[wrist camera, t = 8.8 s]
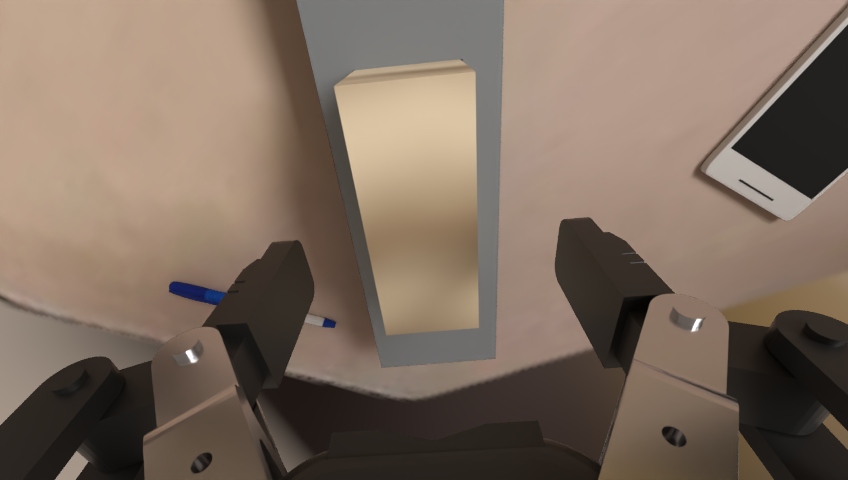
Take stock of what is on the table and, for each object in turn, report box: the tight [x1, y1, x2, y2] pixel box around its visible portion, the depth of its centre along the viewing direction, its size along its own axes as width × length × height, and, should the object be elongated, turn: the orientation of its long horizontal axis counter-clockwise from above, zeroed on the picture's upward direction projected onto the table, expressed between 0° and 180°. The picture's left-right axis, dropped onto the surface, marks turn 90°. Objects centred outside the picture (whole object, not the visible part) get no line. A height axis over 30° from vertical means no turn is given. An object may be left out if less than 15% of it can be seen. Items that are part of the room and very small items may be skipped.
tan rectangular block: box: [334, 59, 479, 335], centre depth 15 cm, size 10×4×7 cm, turn 5°
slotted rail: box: [296, 0, 504, 368], centre depth 17 cm, size 24×7×3 cm, turn 5°
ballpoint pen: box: [169, 282, 336, 328], centre depth 23 cm, size 10×1×1 cm, turn 71°
